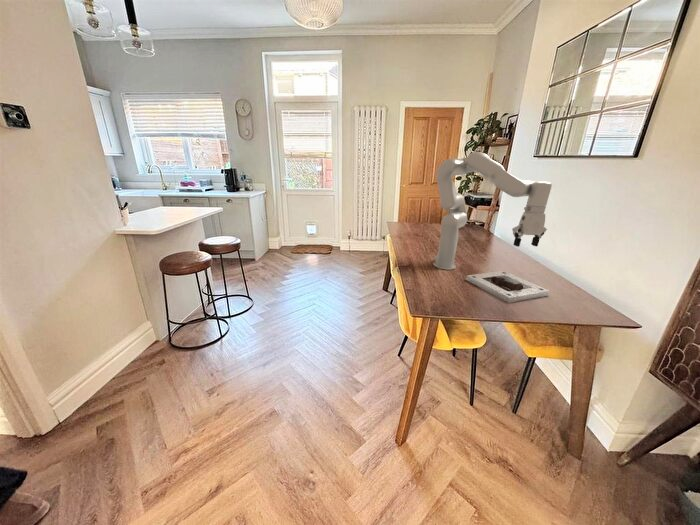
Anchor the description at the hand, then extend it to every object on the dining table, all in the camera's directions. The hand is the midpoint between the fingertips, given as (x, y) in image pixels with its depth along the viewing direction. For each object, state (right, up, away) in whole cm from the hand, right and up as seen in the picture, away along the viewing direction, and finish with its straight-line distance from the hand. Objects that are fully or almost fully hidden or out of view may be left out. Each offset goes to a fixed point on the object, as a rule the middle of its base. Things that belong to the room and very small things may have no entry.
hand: (525, 245), depth 130 cm
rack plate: (-6, -20, +6) cm, 22 cm away
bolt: (-7, -21, +6) cm, 23 cm away
